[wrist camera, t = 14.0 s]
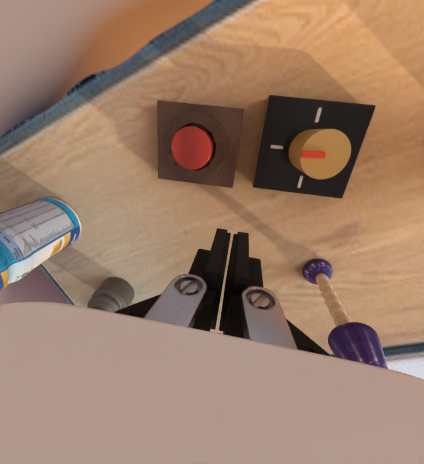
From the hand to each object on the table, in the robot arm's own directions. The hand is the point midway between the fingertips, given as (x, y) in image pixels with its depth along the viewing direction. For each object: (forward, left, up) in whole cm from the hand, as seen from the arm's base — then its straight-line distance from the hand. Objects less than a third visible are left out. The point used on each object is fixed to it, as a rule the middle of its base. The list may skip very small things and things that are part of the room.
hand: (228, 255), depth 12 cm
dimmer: (-8, -5, -20) cm, 22 cm away
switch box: (+5, -4, -20) cm, 21 cm away
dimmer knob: (-8, -5, -18) cm, 20 cm away
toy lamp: (-14, +12, -20) cm, 28 cm away
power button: (+5, -4, -17) cm, 18 cm away
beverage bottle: (+28, +10, -20) cm, 36 cm away
